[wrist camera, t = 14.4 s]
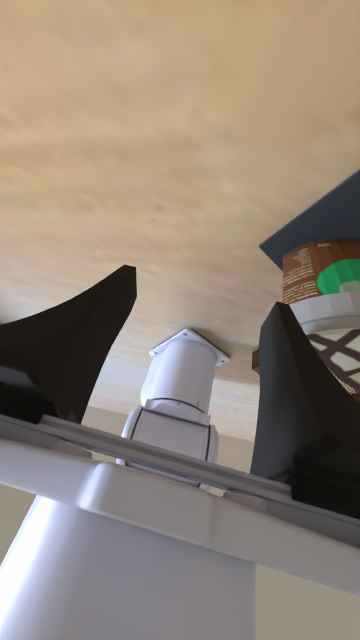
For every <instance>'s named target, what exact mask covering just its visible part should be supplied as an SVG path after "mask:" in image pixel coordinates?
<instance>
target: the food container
mask: <svg viewBox="0 0 360 640" xmlns="http://www.w3.org/2000/svg"><path fill="white" fill-rule="evenodd" d="M283 303H285V304H289V305H290V307H291V309H292V311H293V313H294V315H295V316H296V318H297V320H298V322H299V324H300V326H301V327H302V329H303V331H304V333H305V334H306V336H307V338H308V340H309V341H310V343H311V344H312V346H313V348H314V349H315V351H316V352H317V354H318V355H319V357H320V358H321V360H322V361H323V362H324V364H325V365H326V366H327V367H328V368H329V369H330V371H331V372H332V373H334V374H335V375H336V376H337V378H339V379H340V380H341V381H343V382H344V383H345V384H347V385H349V386H350V387H352V388H353V389H355V390H356V391H358V392H359V393H360V242H358V241H354V240H349V239H337V238H334V239H323V240H318V241H313V242H310V243H307V244H304V245H301V246H299V247H297V248H295V249H293V250H291V251H289V252H288V253H286V254H284V255H283Z"/></svg>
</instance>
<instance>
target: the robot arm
mask: <svg viewBox="0 0 360 640" xmlns="http://www.w3.org/2000/svg"><path fill="white" fill-rule="evenodd" d="M136 297H137V285H136V267H133V266H128V265H123V266H122V267H120V268H119V269H117V270H116V271H115V272H113V273H112V274H110V275H109V276H107V277H106V278H105V279H103V280H102V281H100V282H99V283H97V284H96V285H94V286H92V287H91V288H89V289H88V290H86V291H84V292H83V293H81V294H79V295H77V296H76V297H74V298H72V299H70V300H68V301H66V302H64V303H62V304H59V305H57V306H55V307H52V308H50V309H47V310H45V311H42V312H40V313H38V314H35V315H32V316H29V317H26V318H23V319H20V320H17V321H13V322H10V323H6V324H3V325H0V483H1V484H4V485H8V486H11V487H14V488H18V489H21V490H24V491H27V492H30V493H33V494H36V495H37V496H36V498H35V500H34V502H33V504H32V506H31V508H30V510H29V512H28V514H27V516H26V518H25V519H24V521H23V523H22V525H21V527H20V529H19V531H18V533H17V535H16V537H15V539H14V541H13V543H12V545H11V546H10V548H9V551H8V552H7V554H6V556H5V558H4V560H3V562H2V564H1V566H0V640H255V638H256V564H260V565H263V566H266V567H269V568H272V569H275V570H279V571H282V572H285V573H288V574H291V575H295V576H298V577H301V578H304V579H307V580H311V581H314V582H317V583H320V584H324V585H326V586H330V587H333V588H336V589H339V590H343V591H346V592H349V593H352V594H355V595H358V596H360V404H359V403H358V402H357V401H356V400H355V399H354V398H353V397H352V396H351V395H350V394H349V393H348V392H347V390H346V389H345V388H344V387H343V386H342V385H341V384H340V383H339V381H338V380H337V379H336V378H335V377H334V375H333V374H332V373H331V371H330V370H329V369H328V368H327V366H326V365H325V364H324V362H323V361H322V360H321V358H320V357H319V355H318V354H317V352H316V351H315V349H314V348H313V346H312V344H311V343H310V341H309V340H308V338H307V336H306V334H305V333H304V331H303V329H302V327H301V326H300V324H299V322H298V320H297V318H296V316H295V315H294V313H293V311H292V309H291V307H290V305H289V304H285V303H281V302H277V301H276V303H275V305H274V307H273V308H272V310H271V312H270V313H269V315H268V317H267V318H266V320H265V322H264V323H263V325H262V327H261V332H260V340H259V366H260V397H259V409H258V419H257V428H256V436H255V444H254V451H253V457H252V464H251V470H250V474H248V473H245V472H242V471H238V470H235V469H232V468H228V467H225V466H221V465H217V464H216V462H217V455H218V446H219V445H218V444H219V435H218V432H217V430H216V428H215V426H214V425H210V424H209V422H210V415H208V410H209V403H210V397H211V390H212V384H213V377H214V370H215V367H218V366H220V365H223V364H225V363H228V362H230V358H229V357H228V356H227V355H225V354H224V353H223V352H221V351H220V350H218V349H217V348H216V347H214V346H213V345H212V344H210V343H209V342H207V341H206V340H205V339H203V338H202V337H201V336H199V335H198V334H196V333H195V332H194V331H192V330H191V329H188V328H187V329H185V330H183V331H182V332H180V333H178V334H177V335H175V336H174V337H172V338H170V339H169V340H167V341H166V342H164V343H162V344H161V345H159V346H158V347H156V348H155V349H153V350H151V351H150V352H149V355H150V356H152V357H153V361H152V363H151V366H150V369H149V372H148V374H147V377H146V380H145V383H144V385H143V388H142V392H141V402H142V406H141V405H140V406H138V407H137V408H135V409H134V410H133V411H132V412H131V413H130V415H129V417H128V420H127V422H126V425H125V427H124V430H123V433H122V436H118V435H114V434H111V433H108V432H104V431H100V430H97V429H94V428H90V427H87V426H83V425H81V422H82V419H83V416H84V413H85V410H86V407H87V405H88V402H89V399H90V396H91V394H92V391H93V389H94V386H95V383H96V381H97V378H98V376H99V373H100V371H101V368H102V366H103V364H104V361H105V359H106V357H107V355H108V352H109V350H110V348H111V346H112V344H113V343H114V341H115V339H116V337H117V336H118V334H119V332H120V330H121V329H122V327H123V325H124V323H125V321H126V320H127V318H128V316H129V314H130V312H131V310H132V308H133V305H134V303H135V300H136ZM80 447H81V448H80ZM82 448H84V449H82ZM85 449H87V450H91V451H94V452H98V453H101V454H104V455H108V456H111V457H115V458H117V461H116V463H112V462H104V461H100V460H95V459H93V458H92V453H91V452H90V451H87V450H85ZM210 486H212V487H216V488H219V489H222V490H226V491H229V492H225V493H224V495H223V496H222V497H219V496H216V495H214V494H211V493H209V488H210Z"/></svg>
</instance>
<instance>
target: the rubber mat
mask: <svg viewBox="0 0 360 640" xmlns="http://www.w3.org/2000/svg"><path fill="white" fill-rule="evenodd" d="M334 238H337V239H349V240H354V241H358V242H360V170H359V171H358V172H356V173H355V174H354V175H352V176H351V177H350V178H348V179H347V180H346V181H344V182H343V183H342V184H340V185H339V186H338V187H336V188H335V189H334V190H332V191H331V192H330V193H328V194H327V195H326V196H324V197H323V198H322V199H320V200H319V201H318V202H316V203H315V204H314V205H312V206H311V207H310V208H308V209H307V210H306V211H304V212H303V213H302V214H300V215H299V216H298V217H296V218H295V219H294V220H292V221H291V222H290V223H288V224H287V225H286V226H285V227H283V228H282V229H281V230H279V231H278V232H277V233H275V234H274V235H273V236H271V237H270V238H269V239H267V240H266V241H265V242H263V243H262V244H261V245H259V247H260V248H261V249H262V251H263V252H264V253H265V254H266V255H267V256H268V257H269V258H270V259H271V260H272V261H273V262H274V263H275V264H276V265H277V266H278V267H279V268H280V269H281V270H282V271H283V255H284V254H286V253H288V252H289V251H291V250H293V249H295V248H297V247H299V246H301V245H304V244H307V243H310V242H313V241H318V240H323V239H334Z"/></svg>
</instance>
